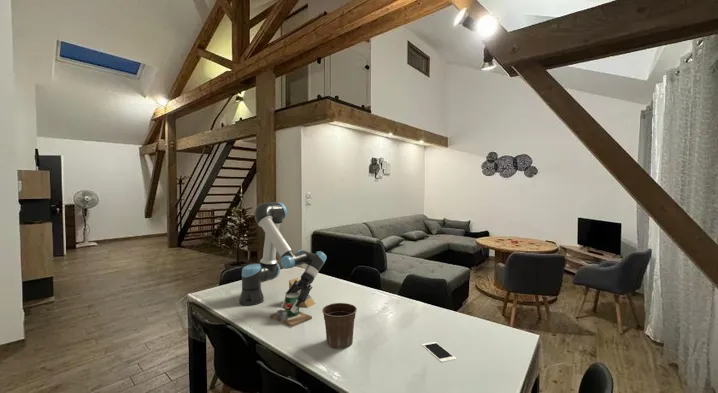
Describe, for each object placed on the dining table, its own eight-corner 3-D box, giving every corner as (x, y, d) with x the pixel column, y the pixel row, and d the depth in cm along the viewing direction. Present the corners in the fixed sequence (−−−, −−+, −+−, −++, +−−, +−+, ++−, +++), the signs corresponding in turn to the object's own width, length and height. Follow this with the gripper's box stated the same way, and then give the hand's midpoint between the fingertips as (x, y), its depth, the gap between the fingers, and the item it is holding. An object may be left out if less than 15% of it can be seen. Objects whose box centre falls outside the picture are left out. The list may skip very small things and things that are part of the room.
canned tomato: (282, 316, 174) (282, 296, 173) (290, 310, 181) (289, 292, 181) (294, 318, 171) (294, 298, 171) (301, 312, 178) (301, 293, 178)
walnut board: (269, 317, 176) (269, 307, 176) (289, 310, 187) (289, 301, 187) (291, 327, 163) (291, 316, 163) (311, 319, 174) (311, 309, 174)
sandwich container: (308, 308, 191) (308, 283, 191) (288, 303, 198) (288, 280, 198) (316, 303, 198) (316, 280, 198) (297, 299, 206) (297, 277, 206)
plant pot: (343, 355, 135) (343, 318, 135) (315, 345, 144) (315, 311, 144) (363, 340, 149) (363, 307, 149) (335, 332, 158) (335, 300, 157)
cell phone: (441, 363, 130) (441, 361, 130) (421, 345, 145) (421, 344, 145) (456, 360, 133) (456, 358, 133) (435, 342, 148) (435, 341, 148)
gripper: (324, 281, 181) (303, 317, 169) (301, 275, 194) (279, 308, 182) (317, 274, 177) (295, 311, 165) (294, 268, 190) (272, 302, 178)
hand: (287, 309), depth 173 cm, fingers closed on canned tomato, 8 cm apart
